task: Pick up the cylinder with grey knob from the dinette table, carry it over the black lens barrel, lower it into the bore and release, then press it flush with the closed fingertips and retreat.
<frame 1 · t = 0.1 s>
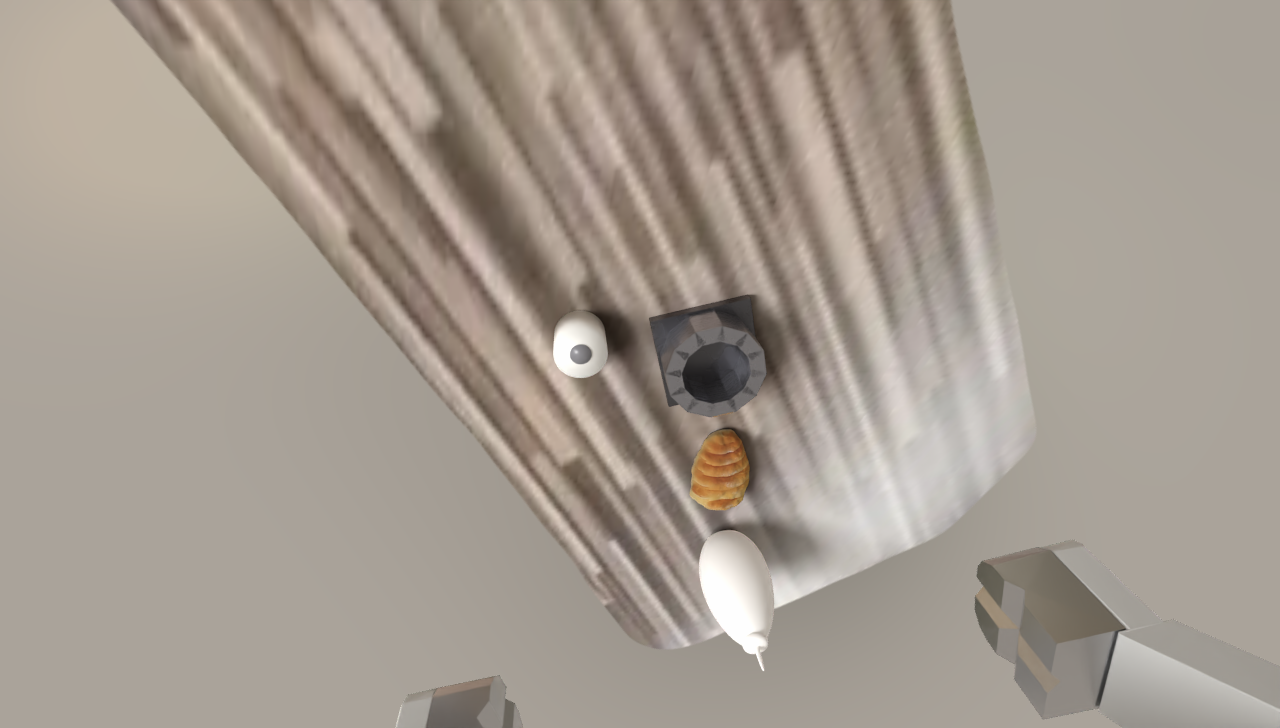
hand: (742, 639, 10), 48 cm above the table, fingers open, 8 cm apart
cylinder with grey knob: (579, 333, 60), on the table
pastry: (715, 464, 69), on the table
white air blower bulb: (722, 536, 74), on the table
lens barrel: (706, 350, 62), on the table
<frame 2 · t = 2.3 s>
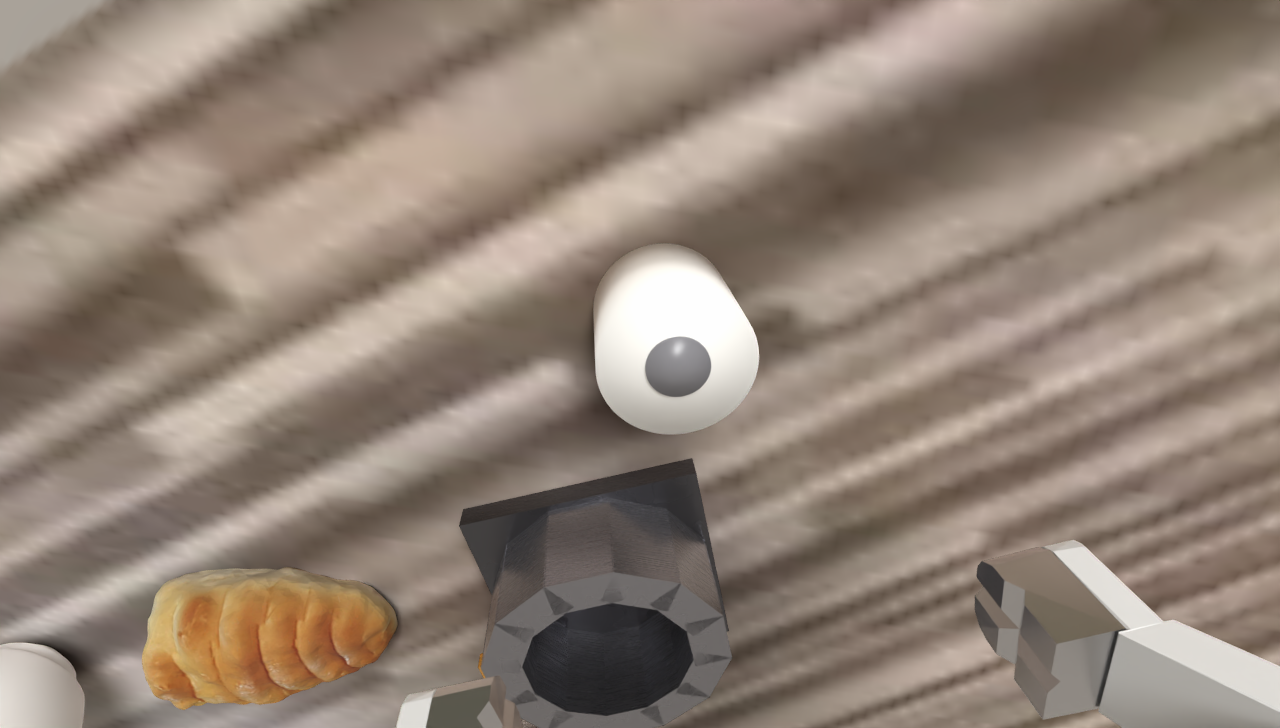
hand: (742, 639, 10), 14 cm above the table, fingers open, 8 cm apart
cylinder with grey knob: (660, 309, 22), on the table
pastry: (281, 602, 28), on the table
white air blower bulb: (44, 653, 28), on the table
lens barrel: (604, 566, 28), on the table
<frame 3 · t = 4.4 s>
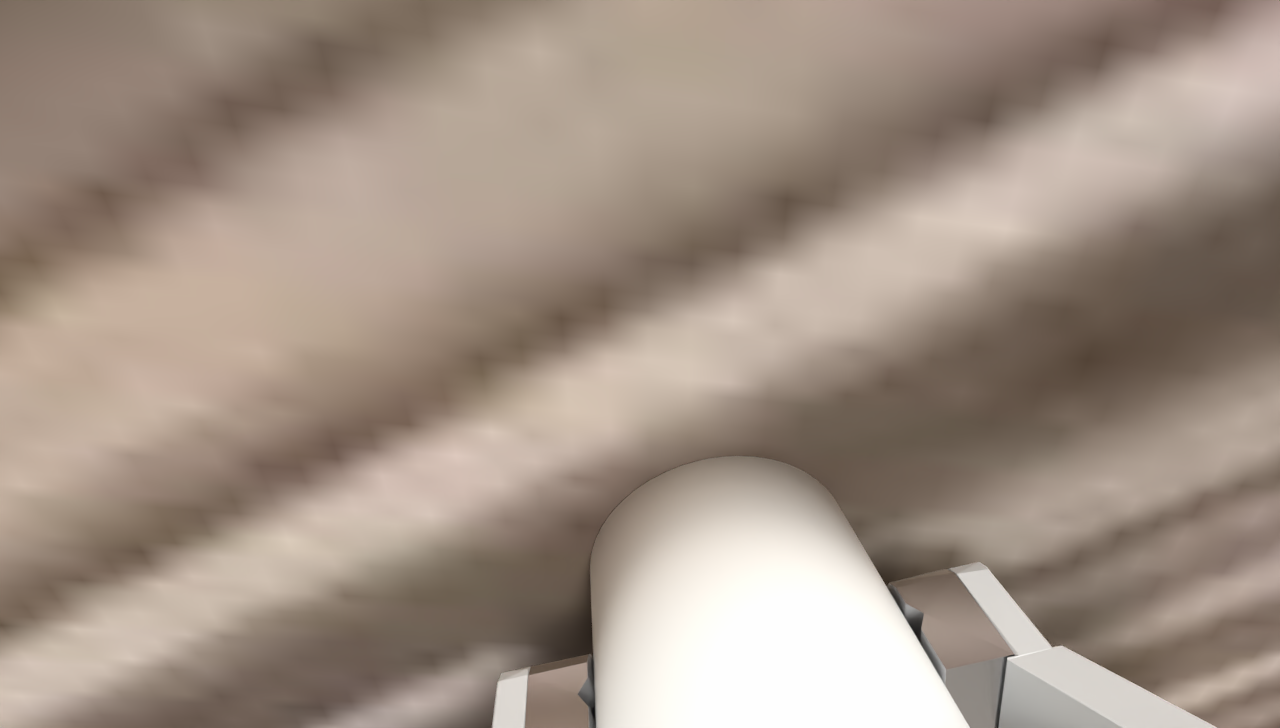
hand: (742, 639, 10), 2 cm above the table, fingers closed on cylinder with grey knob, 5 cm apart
cylinder with grey knob: (719, 561, 12), on the table, touching gripper
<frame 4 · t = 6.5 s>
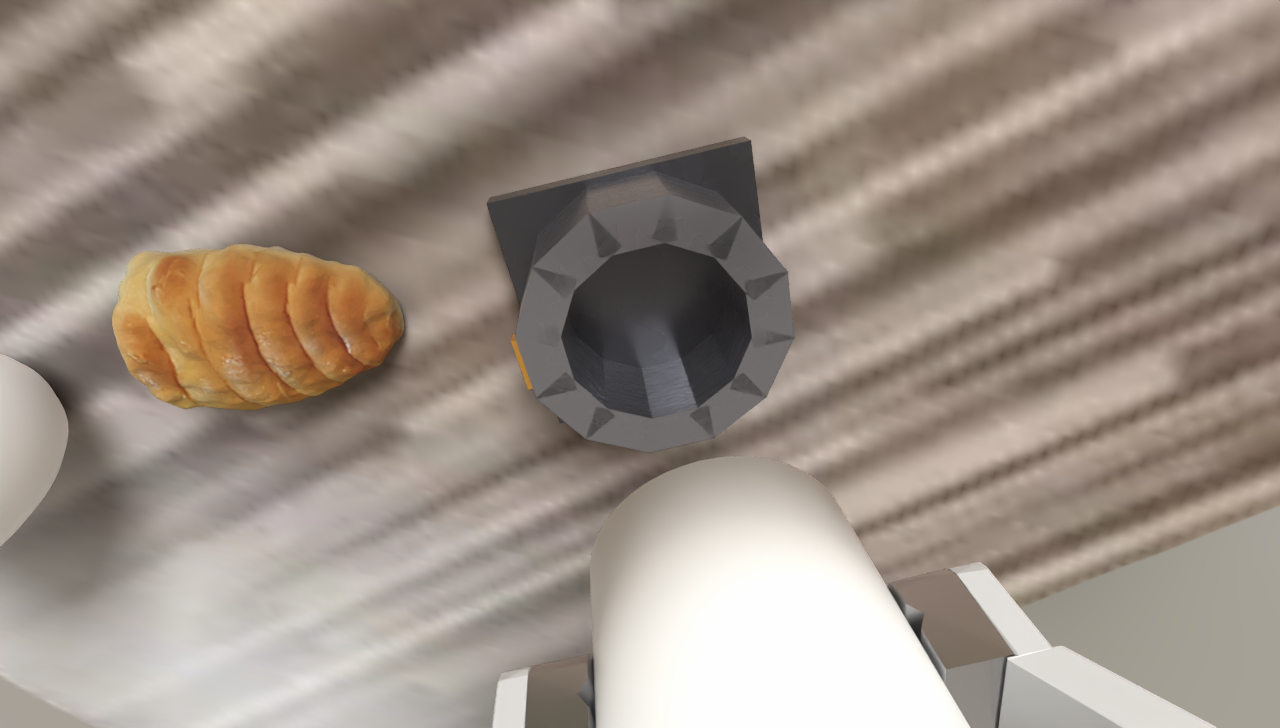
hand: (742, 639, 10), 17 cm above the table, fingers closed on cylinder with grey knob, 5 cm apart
cylinder with grey knob: (719, 562, 12), point 16 cm above the table, touching gripper
pastry: (273, 308, 25), on the table
white air blower bulb: (23, 385, 25), on the table
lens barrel: (643, 287, 25), on the table
when the fingers open (6 cm above the table, at t = 8.7 s): cylinder with grey knob drops 3 cm, resting on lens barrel.
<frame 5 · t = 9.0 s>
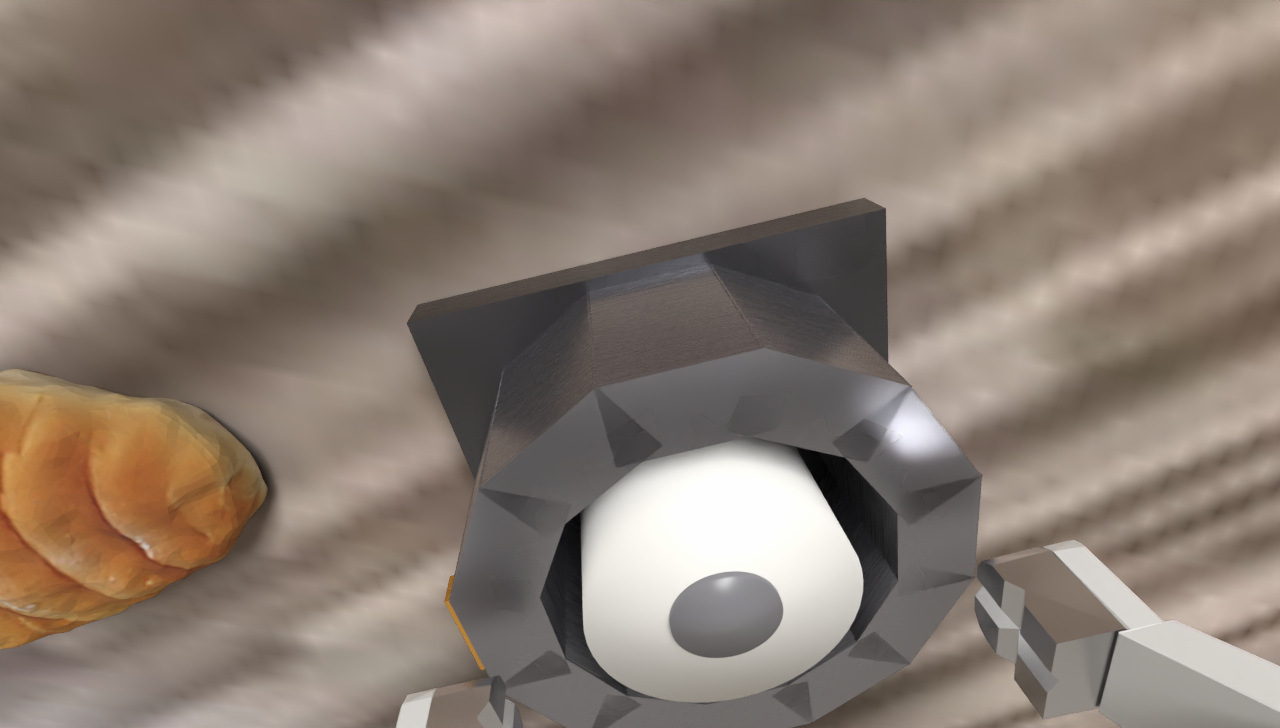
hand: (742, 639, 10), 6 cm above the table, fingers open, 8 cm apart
cylinder with grey knob: (682, 459, 15), point 1 cm above the table, touching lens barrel
pastry: (42, 462, 15), on the table
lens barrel: (680, 435, 15), on the table
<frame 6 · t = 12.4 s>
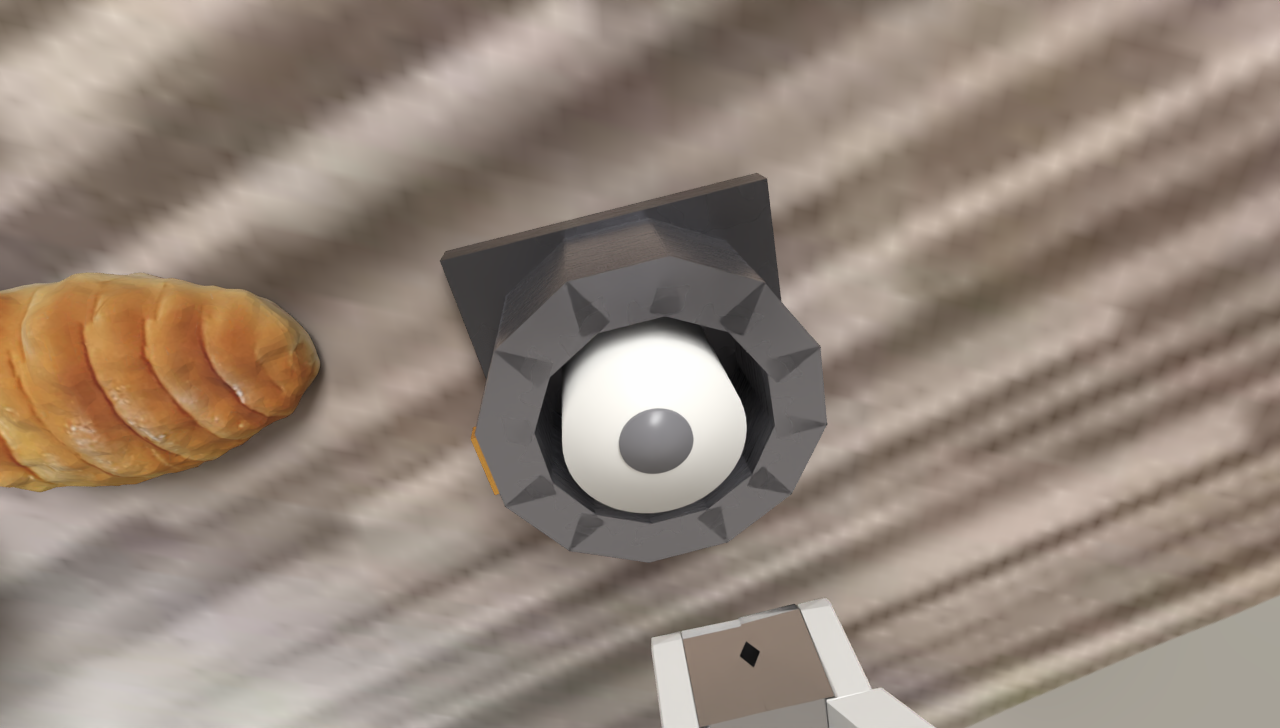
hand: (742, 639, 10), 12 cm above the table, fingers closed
cylinder with grey knob: (636, 365, 20), point 1 cm above the table, touching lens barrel
pastry: (152, 352, 20), on the table
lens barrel: (636, 351, 21), on the table
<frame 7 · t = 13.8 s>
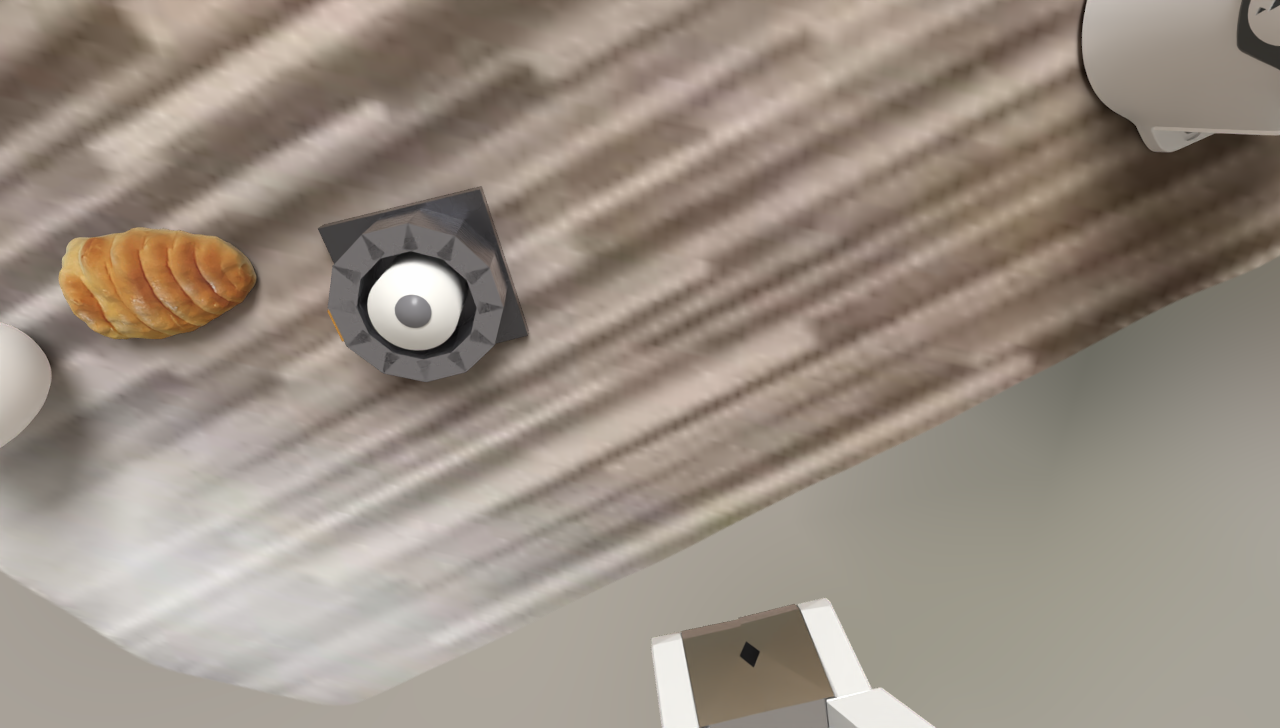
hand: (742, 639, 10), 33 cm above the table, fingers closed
cylinder with grey knob: (427, 285, 39), point 1 cm above the table, touching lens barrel
pastry: (169, 272, 38), on the table
white air blower bulb: (20, 348, 38), on the table
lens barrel: (432, 280, 40), on the table
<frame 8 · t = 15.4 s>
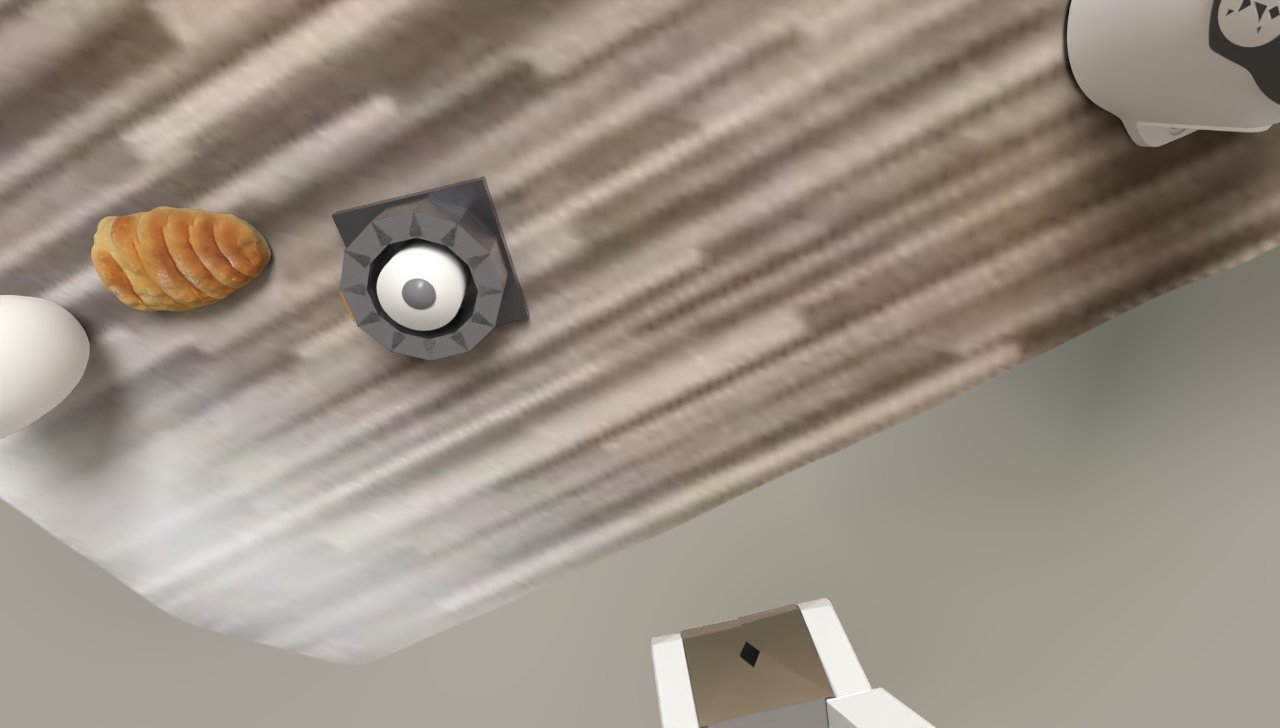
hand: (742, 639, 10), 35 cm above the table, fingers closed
cylinder with grey knob: (433, 269, 41), point 1 cm above the table, touching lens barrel
pastry: (191, 249, 40), on the table
white air blower bulb: (61, 324, 42), on the table
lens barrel: (438, 265, 42), on the table
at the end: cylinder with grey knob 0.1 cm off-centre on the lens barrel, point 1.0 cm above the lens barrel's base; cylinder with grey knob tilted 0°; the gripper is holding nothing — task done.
